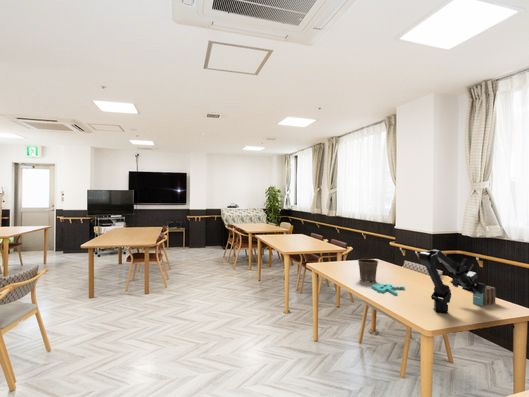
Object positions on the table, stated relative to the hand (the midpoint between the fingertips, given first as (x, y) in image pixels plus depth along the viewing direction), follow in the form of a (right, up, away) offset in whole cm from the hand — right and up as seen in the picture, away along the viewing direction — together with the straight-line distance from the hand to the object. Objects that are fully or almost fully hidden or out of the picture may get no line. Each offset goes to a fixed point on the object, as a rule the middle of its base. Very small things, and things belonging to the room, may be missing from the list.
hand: (474, 293), depth 199 cm
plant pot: (-48, -7, +60) cm, 78 cm away
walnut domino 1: (+6, -7, +2) cm, 10 cm away
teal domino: (+3, -7, +1) cm, 8 cm away
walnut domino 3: (+14, -7, +5) cm, 17 cm away
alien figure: (-43, -8, +33) cm, 55 cm away
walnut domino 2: (+10, -7, +4) cm, 13 cm away
